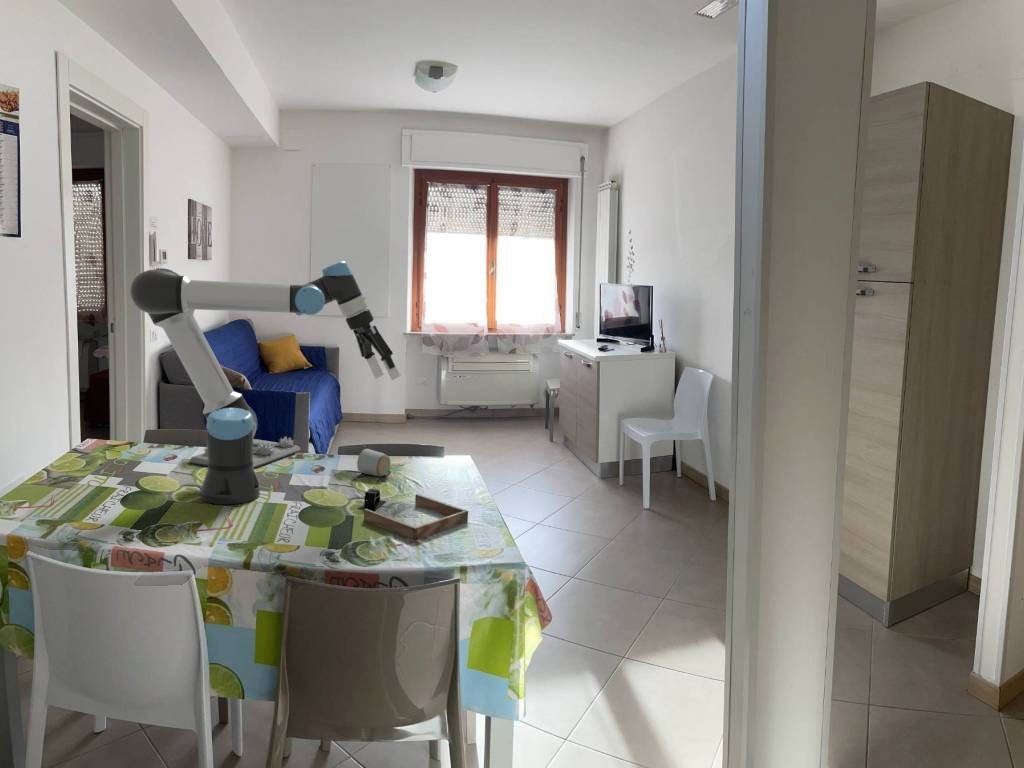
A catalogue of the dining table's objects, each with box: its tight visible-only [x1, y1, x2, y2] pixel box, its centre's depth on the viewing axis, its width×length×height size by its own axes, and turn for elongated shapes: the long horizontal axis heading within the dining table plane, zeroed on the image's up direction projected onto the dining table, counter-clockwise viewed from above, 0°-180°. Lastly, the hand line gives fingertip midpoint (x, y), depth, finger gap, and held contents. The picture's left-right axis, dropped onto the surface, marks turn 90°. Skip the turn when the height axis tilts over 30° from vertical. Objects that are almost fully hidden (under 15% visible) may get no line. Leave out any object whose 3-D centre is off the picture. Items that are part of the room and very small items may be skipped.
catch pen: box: [363, 493, 469, 541], centre depth 192 cm, size 19×19×3 cm
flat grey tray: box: [189, 436, 302, 469], centre depth 242 cm, size 30×22×7 cm
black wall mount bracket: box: [356, 488, 388, 512], centre depth 202 cm, size 12×7×5 cm, turn 169°
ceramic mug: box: [356, 448, 392, 477], centre depth 232 cm, size 11×8×8 cm
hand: (387, 377), depth 223 cm, fingers open, 13 cm apart
